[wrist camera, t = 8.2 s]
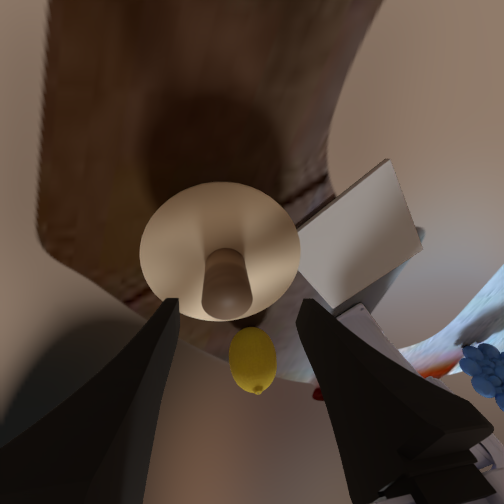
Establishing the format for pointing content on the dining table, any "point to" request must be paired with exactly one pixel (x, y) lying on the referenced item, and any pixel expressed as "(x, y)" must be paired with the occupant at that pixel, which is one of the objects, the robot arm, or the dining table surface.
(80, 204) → the dining table surface
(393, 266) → the mat
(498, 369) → the grapes
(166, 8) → the dining table surface
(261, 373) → the lemon
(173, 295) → the lid
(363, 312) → the robot arm
